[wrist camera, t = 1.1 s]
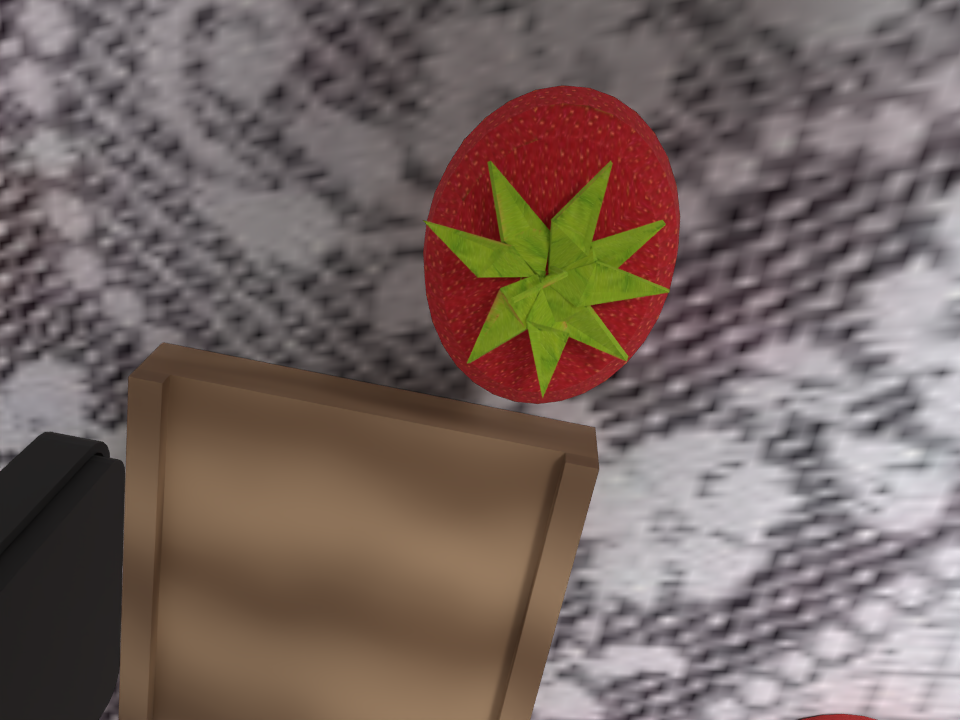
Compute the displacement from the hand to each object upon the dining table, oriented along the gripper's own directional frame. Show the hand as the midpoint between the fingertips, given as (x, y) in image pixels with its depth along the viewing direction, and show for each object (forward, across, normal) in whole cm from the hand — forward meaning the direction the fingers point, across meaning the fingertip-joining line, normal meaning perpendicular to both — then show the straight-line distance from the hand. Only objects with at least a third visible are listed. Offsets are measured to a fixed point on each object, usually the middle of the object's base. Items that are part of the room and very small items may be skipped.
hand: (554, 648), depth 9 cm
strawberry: (+19, 0, 0) cm, 19 cm away
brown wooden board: (+19, +4, +14) cm, 24 cm away
